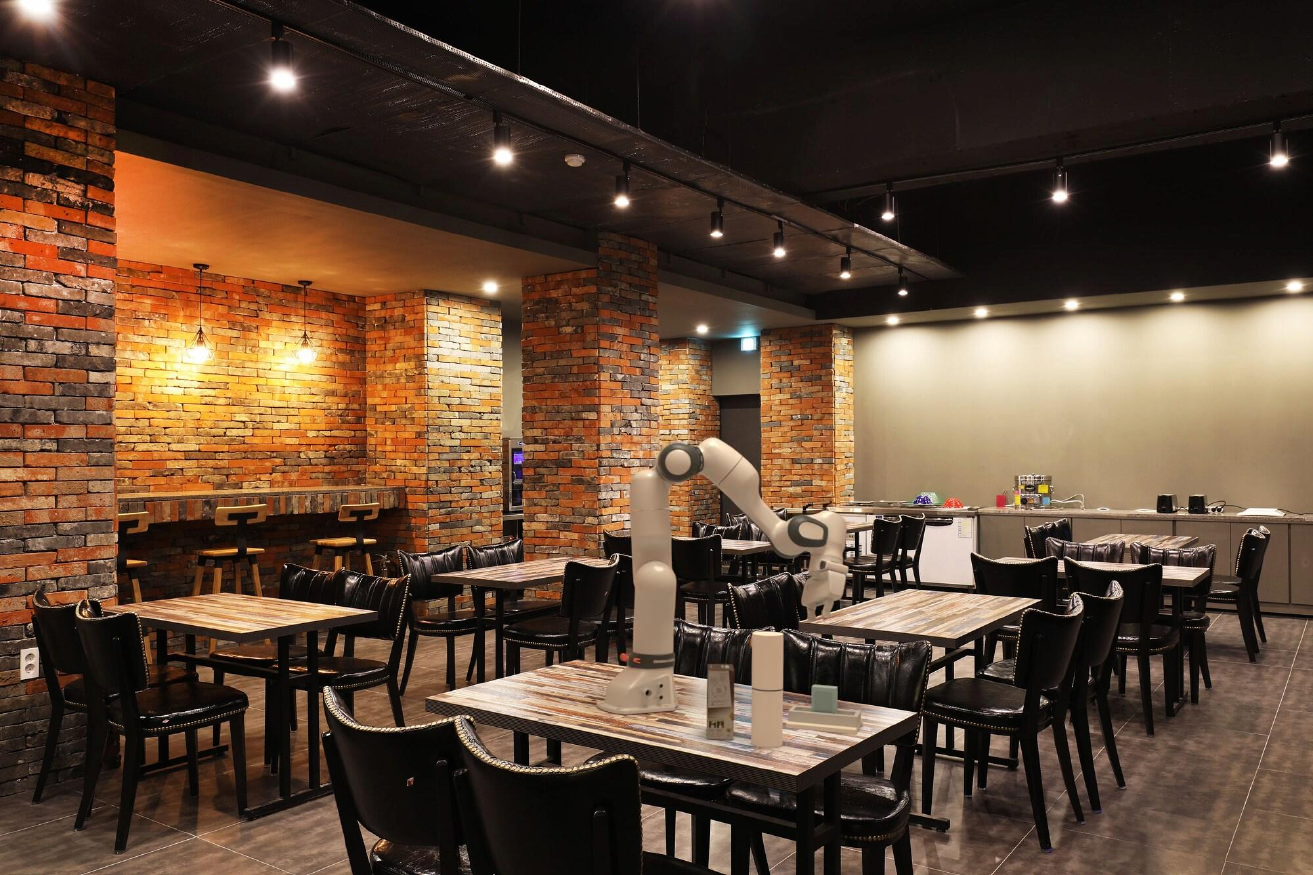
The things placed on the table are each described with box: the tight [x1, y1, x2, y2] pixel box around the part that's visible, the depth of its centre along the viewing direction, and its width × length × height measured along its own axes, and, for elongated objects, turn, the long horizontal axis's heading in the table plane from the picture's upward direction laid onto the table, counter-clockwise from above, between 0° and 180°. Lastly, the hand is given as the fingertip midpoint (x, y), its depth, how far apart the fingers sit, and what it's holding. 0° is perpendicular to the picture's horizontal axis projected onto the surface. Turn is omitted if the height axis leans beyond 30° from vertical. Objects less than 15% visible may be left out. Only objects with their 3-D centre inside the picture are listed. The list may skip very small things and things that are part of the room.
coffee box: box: [706, 663, 735, 741], centre depth 225 cm, size 9×6×16 cm
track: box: [785, 704, 863, 735], centre depth 236 cm, size 13×17×4 cm
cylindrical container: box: [750, 631, 784, 749], centre depth 217 cm, size 7×7×25 cm
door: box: [811, 684, 838, 714], centre depth 236 cm, size 3×6×8 cm, turn 71°
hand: (817, 619), depth 255 cm, fingers open, 8 cm apart
